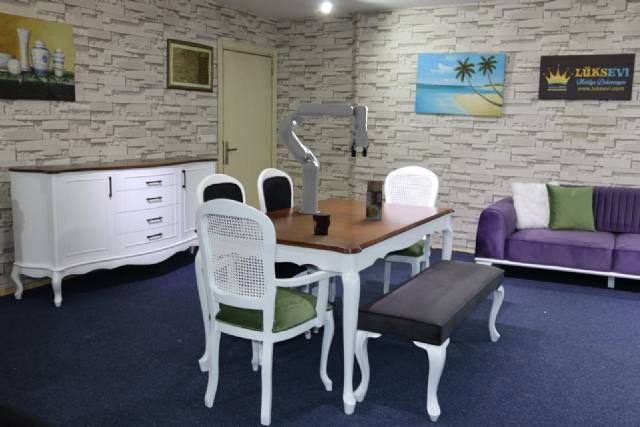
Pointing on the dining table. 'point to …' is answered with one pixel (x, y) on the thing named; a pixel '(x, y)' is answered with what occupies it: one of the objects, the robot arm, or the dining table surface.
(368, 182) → the walnut block
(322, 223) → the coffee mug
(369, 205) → the coffee box
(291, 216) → the dining table surface
